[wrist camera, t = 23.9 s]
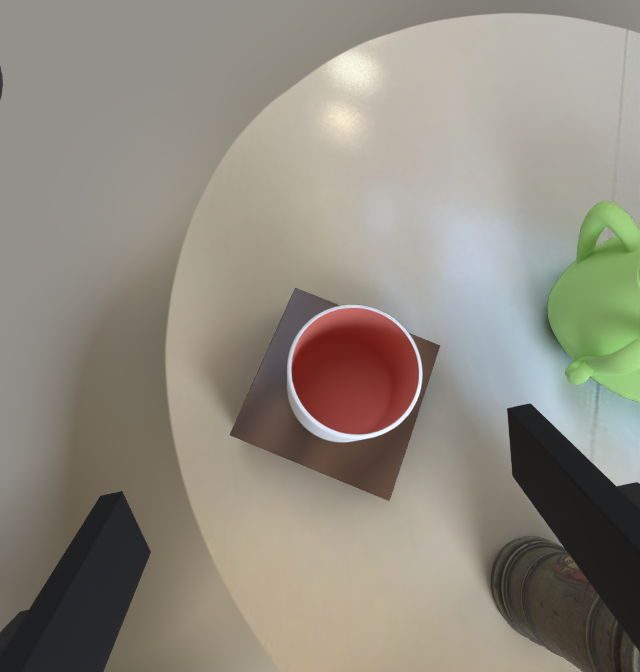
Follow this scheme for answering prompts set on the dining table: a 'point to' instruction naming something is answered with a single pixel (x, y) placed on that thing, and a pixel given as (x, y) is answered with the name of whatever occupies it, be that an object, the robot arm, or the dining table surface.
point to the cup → (353, 374)
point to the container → (559, 607)
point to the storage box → (300, 444)
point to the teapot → (602, 304)
